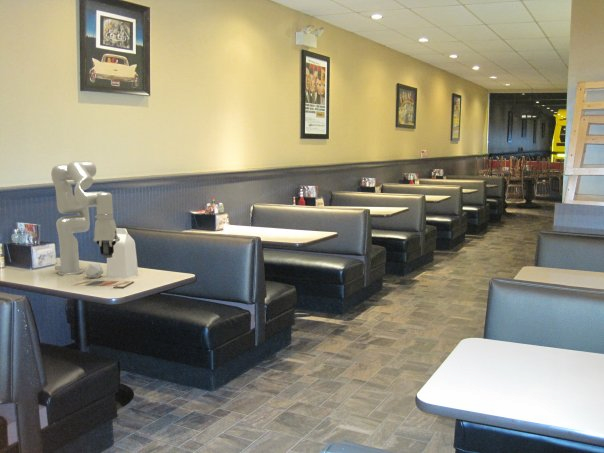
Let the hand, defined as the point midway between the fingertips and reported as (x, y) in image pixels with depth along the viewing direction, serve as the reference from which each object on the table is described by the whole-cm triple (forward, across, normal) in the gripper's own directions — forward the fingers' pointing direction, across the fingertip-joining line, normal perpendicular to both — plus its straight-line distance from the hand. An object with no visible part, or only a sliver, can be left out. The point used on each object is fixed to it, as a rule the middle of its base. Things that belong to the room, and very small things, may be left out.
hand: (107, 253), depth 299 cm
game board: (+16, -4, 0) cm, 16 cm away
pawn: (+2, 0, 0) cm, 2 cm away
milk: (+16, -2, +20) cm, 26 cm away
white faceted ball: (+16, -15, +14) cm, 26 cm away
